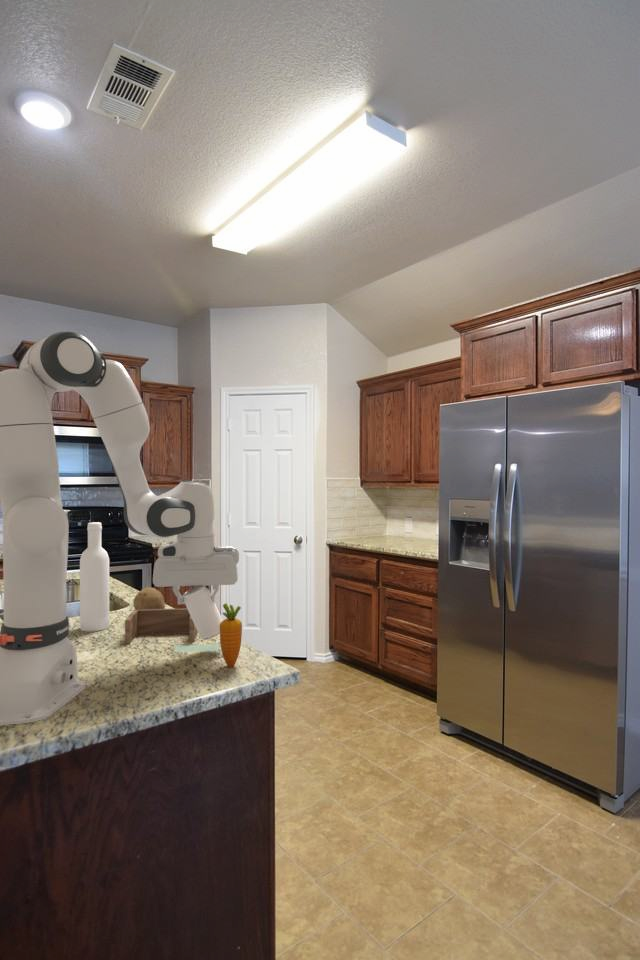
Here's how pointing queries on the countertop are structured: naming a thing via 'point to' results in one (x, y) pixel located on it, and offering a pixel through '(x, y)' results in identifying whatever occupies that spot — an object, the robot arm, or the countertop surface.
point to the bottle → (94, 583)
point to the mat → (196, 648)
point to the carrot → (230, 635)
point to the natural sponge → (149, 599)
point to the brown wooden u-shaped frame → (159, 623)
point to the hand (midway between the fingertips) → (196, 603)
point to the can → (203, 612)
